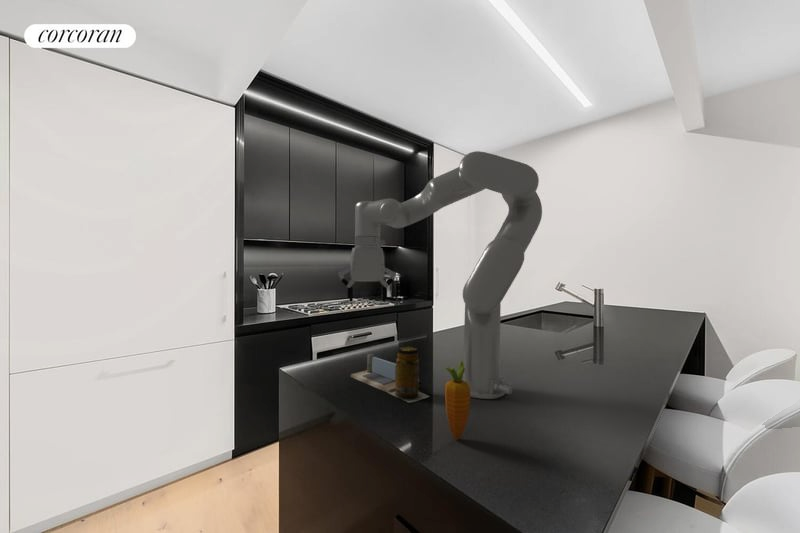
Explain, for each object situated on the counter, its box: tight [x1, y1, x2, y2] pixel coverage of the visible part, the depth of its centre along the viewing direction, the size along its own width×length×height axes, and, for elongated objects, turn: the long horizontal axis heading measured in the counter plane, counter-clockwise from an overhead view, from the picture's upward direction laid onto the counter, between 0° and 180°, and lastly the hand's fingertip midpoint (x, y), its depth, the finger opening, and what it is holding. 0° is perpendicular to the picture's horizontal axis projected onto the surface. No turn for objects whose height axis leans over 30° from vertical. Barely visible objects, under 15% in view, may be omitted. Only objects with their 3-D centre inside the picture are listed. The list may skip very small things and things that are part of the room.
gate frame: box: [350, 353, 420, 394], centre depth 99 cm, size 17×12×6 cm
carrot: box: [444, 360, 471, 441], centre depth 65 cm, size 5×5×15 cm
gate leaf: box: [372, 356, 396, 380], centre depth 99 cm, size 10×1×4 cm, turn 44°
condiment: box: [387, 346, 431, 404], centre depth 87 cm, size 7×8×12 cm
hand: (367, 300), depth 100 cm, fingers open, 9 cm apart
